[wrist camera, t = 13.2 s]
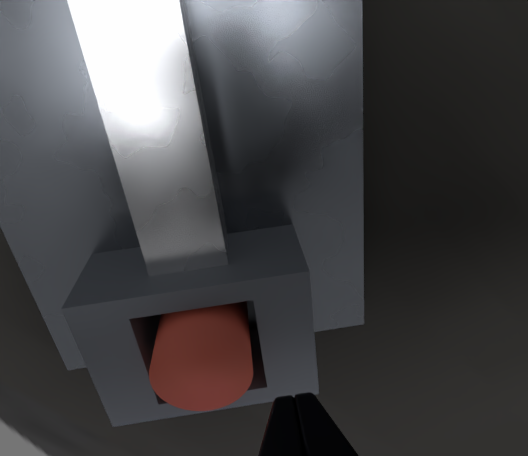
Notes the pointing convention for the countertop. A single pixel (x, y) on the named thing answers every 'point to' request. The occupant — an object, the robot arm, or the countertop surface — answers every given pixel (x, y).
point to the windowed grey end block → (187, 298)
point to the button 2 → (202, 357)
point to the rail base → (255, 138)
